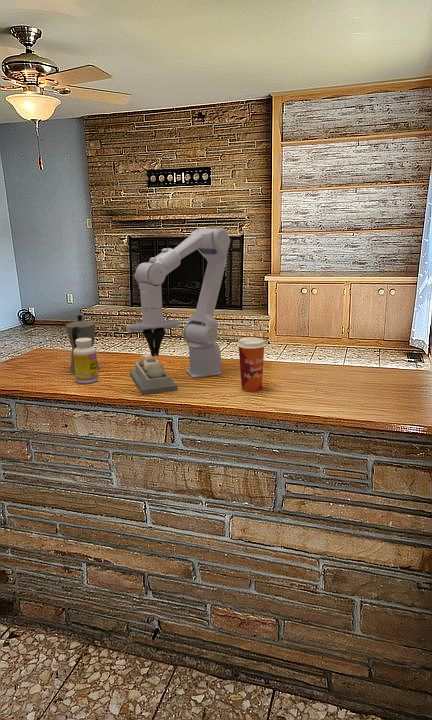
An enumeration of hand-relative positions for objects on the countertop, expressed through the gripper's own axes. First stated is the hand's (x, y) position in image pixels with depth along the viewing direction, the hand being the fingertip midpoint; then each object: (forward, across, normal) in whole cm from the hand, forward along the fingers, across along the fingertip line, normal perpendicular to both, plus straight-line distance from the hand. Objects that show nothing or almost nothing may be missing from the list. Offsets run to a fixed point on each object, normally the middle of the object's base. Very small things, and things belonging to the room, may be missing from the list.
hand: (154, 355), depth 144 cm
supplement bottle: (+10, +18, -16) cm, 26 cm away
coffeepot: (+10, +18, -26) cm, 34 cm away
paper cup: (+10, -25, +10) cm, 29 cm away
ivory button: (+6, 0, -6) cm, 9 cm away
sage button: (+6, 0, 0) cm, 6 cm away
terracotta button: (+6, 0, -12) cm, 14 cm away
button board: (+10, 0, -6) cm, 12 cm away
